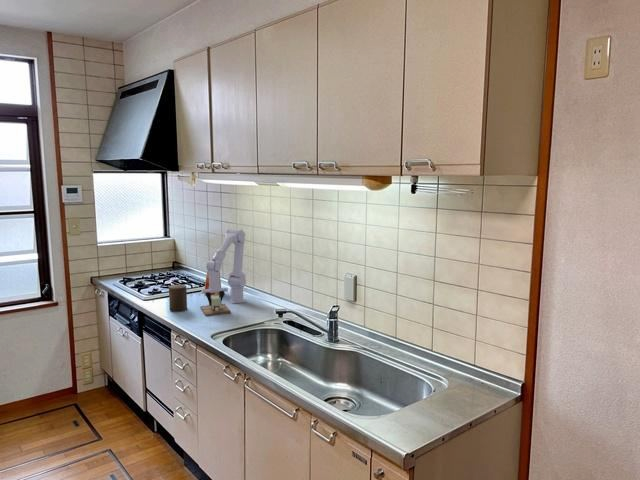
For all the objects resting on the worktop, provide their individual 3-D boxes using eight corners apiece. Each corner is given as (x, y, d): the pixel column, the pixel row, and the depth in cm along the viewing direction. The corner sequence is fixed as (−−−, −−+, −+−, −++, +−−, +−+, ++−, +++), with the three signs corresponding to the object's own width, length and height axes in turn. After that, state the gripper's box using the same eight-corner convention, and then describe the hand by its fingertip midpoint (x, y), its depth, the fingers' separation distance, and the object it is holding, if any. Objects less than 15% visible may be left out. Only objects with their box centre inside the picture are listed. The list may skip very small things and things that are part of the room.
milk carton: (204, 295, 306) (203, 264, 303) (210, 291, 315) (209, 261, 312) (218, 296, 305) (217, 265, 302) (223, 292, 314) (222, 262, 311)
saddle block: (209, 306, 277) (209, 296, 276) (218, 305, 279) (218, 295, 278) (212, 309, 271) (211, 299, 270) (220, 308, 273) (220, 298, 272)
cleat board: (200, 308, 280) (200, 303, 280) (224, 305, 285) (224, 301, 285) (205, 316, 265) (205, 311, 265) (230, 313, 271) (230, 308, 270)
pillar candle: (180, 312, 271) (179, 286, 269) (166, 310, 275) (165, 285, 272) (190, 308, 281) (189, 282, 278) (176, 306, 284) (175, 281, 282)
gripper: (202, 284, 266) (203, 308, 268) (228, 282, 272) (229, 305, 274) (200, 281, 273) (201, 304, 275) (226, 279, 278) (226, 302, 281)
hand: (215, 304), depth 275 cm, fingers closed on saddle block, 5 cm apart
